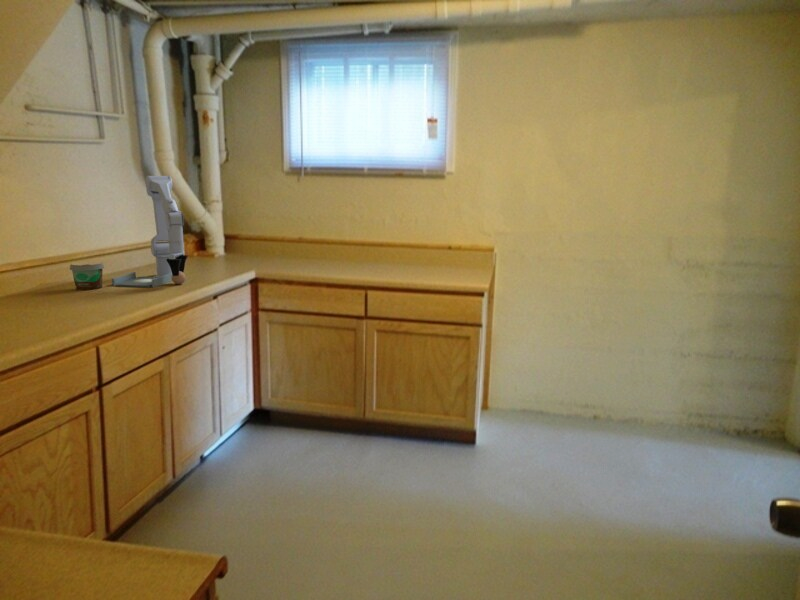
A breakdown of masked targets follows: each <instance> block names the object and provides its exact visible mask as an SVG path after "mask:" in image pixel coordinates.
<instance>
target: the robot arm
mask: <svg viewBox="0 0 800 600" xmlns="http://www.w3.org/2000/svg"><path fill="white" fill-rule="evenodd" d="M145 188H146V194H147V196H149V197H151V199H152V200H151V201H152V205H153V214H154V221H155V222H154V223H155V229H156V234H155V236H153V237H152V238H151V240H150V251H151V254H152V256H153V257H154V258H155V265H156V275H153V277H161V276H164V275H167V274H170V273H172V274H173V276H179V271H181V272H183V273H184V272H185V268H186V267H185V266H186V262H187V259H188V255H187V254H185V245H184V232H183V231H184V229H183V226H184V225H185V217H184V214H183V212H182V211H181V210H179V208H178V205H177V202H176V200H175V199H173V198H172V194H171V193H172V190H173V180H172V177H171V176H170V175H146V177H145Z"/></svg>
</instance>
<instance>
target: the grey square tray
mask: <svg viewBox="0 0 800 600" xmlns="http://www.w3.org/2000/svg"><path fill="white" fill-rule="evenodd" d="M136 274H137V273H136V272H135V271H132V272H129V273H125V274H121V275H119V276H116V277H113V278H111V283H112V284H111V285H112V286H113V287H117V286H116V284H119V283H122V282H125V281H128V280H131V279H134V278H137V275H136ZM169 282H173V281H172V273H170V274H167V275H164V276H161V277H158V278H156V279H153V280H152V286H151V288H156V287H159V286H161V285H164V284H167V283H169Z"/></svg>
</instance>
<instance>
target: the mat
mask: <svg viewBox="0 0 800 600" xmlns="http://www.w3.org/2000/svg"><path fill="white" fill-rule="evenodd" d="M156 278H158V277H152V276H136V278H134V279H131V280H128V281H125V282H122V283H119V284H116V286H115V287H119V288H120V287H123V288H146V289H147V288H148V289H149V288H152V280H153V279H156Z"/></svg>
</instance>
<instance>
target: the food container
mask: <svg viewBox="0 0 800 600" xmlns="http://www.w3.org/2000/svg"><path fill="white" fill-rule="evenodd" d="M103 269H105V265H104V263H103V262H100V263H96V264H87V263H86V264H80V265H78V264H77V265H76V264H72V263H70V265H69V270H70V271H71V272H72V278H73V281H74V285H75V289H76V290H78V291H94V290H99V289H101V288H103V273H104V272H103Z"/></svg>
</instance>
